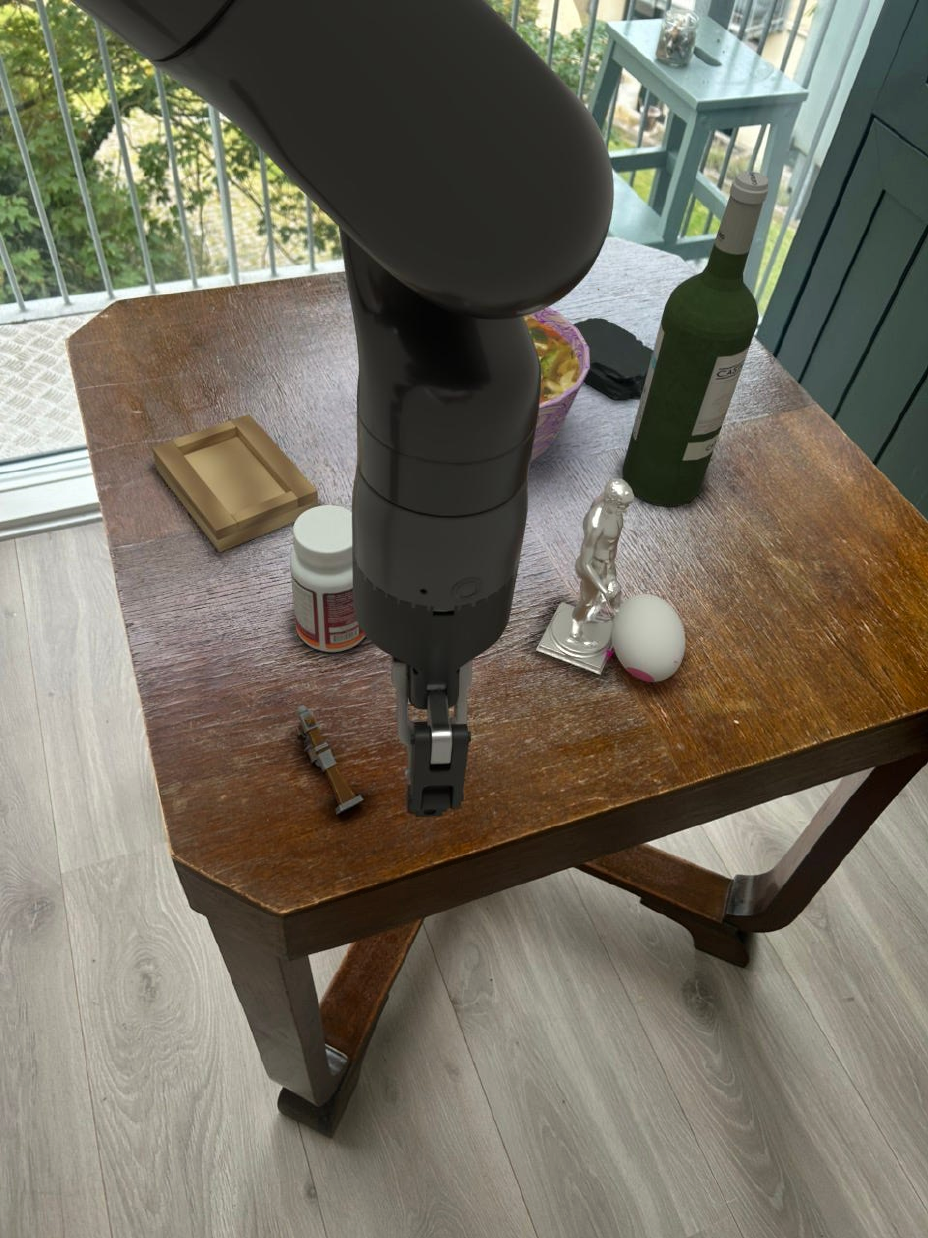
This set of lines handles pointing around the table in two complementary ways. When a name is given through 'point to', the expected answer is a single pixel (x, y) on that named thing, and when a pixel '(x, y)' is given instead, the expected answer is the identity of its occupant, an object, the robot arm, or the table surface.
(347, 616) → the pill bottle
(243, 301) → the table surface
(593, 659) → the figurine
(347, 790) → the wooden post with brackets
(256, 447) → the holder
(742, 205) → the wine bottle
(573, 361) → the bowl of food
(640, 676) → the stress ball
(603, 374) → the stone
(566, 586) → the table surface
